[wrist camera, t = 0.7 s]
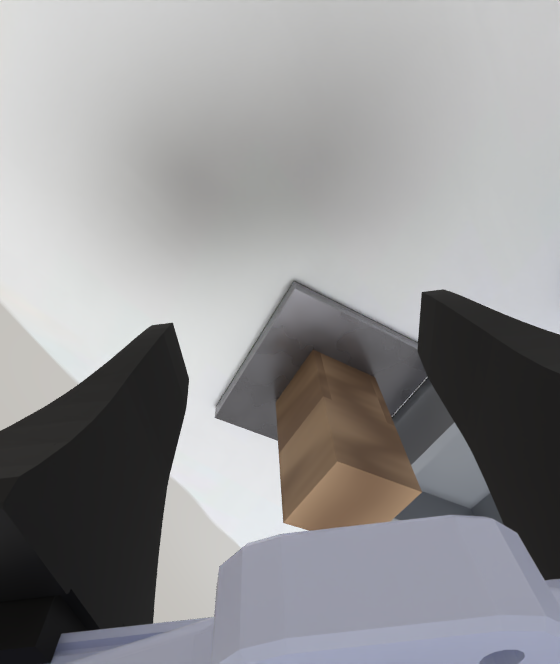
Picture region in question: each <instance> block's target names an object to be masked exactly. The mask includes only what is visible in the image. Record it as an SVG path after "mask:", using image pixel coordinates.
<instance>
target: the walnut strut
mask: <svg viewBox="0 0 560 664" xmlns="http://www.w3.org/2000/svg"><path fill="white" fill-rule="evenodd" d="M276 417H277V432H278V448H279V463H280V479H281V494H282V510H283V523H286V524H289V525H292V526H296V527H299V528H302V529H306V530H309V531H312V530H321V529H330V528H339V527H347V526H356V525H365V524H374V523H383V522H390V521H391V520H393V519H394V518H395V517H396V516H397V515H398V514H399V513H400V512H401V511H402V510H403V509H404V508H405V507H407V506H408V505H409V504H410V503H411V502H412V501H413V500H414V499H415V498H416V497H417V496H418V495H419V494H421V493H422V491H421V488H420V486H419V484H418V481H417V479H416V476H415V474H414V471H413V469H412V466H411V464H410V462H409V459H408V457H407V454H406V452H405V449H404V447H403V444H402V442H401V439H400V437H399V435H398V432H397V430H396V427H395V425H394V422H393V420H392V417H391V415H390V413H389V410H388V408H387V405H386V403H385V400H384V398H383V395H382V393H381V391H380V388H379V386H378V383H377V381H376V378H375V377H373V376H371V375H369V374H367V373H364V372H362V371H360V370H358V369H356V368H353V367H351V366H349V365H347V364H344V363H342V362H340V361H338V360H336V359H333V358H331V357H329V356H327V355H324V354H322V353H320V352H318V351H316V350H312V351H311V353H310V354H309V356H308V357H307V358H306V360H305V361H304V363H303V364H302V366H301V367H300V368H299V370H298V371H297V373H296V374H295V375H294V377H293V378H292V380H291V381H290V383H289V384H288V385H287V387H286V388H285V390H284V391H283V393H282V394H281V395H280V397H279V398H278V400H277V401H276Z"/></svg>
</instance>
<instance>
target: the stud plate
mask: <svg viewBox="0 0 560 664" xmlns="http://www.w3.org/2000/svg"><path fill="white" fill-rule="evenodd" d="M312 350H316V351H318V352H320V353H322V354H324V355H327V356H329V357H331V358H333V359H336V360H338V361H340V362H342V363H344V364H347V365H349V366H351V367H353V368H356V369H358V370H360V371H362V372H364V373H367V374H369V375H371V376H373V377H375V378H376V381H377V383H378V386H379V388H380V391H381V393H382V395H383V398H384V400H385V403H386V405H387V408H388V410H389V413H390V415H391V416H392V415H393V413H394V412H395V411H396V410H397V409H398V408H399V407H400V406H401V405H402V403H403V402H404V401H405V400H406V399H407V398H408V397H409V396H410V395H411V393H412V392H413V391H414V390H415V389H416V388H417V387H418V386H419V385H420V384H421V382H422V381H423V380H424V379H425V378H426V377H427V374H426V372H425V369H424V367H423V364H422V362H421V359H420V357H419V354H418V352H417V351H418V343H417V342H415V341H413V340H411V339H409V338H407V337H405V336H403V335H401V334H399V333H397V332H395V331H393V330H391V329H389V328H387V327H385V326H383V325H381V324H379V323H377V322H375V321H373V320H371V319H369V318H367V317H365V316H363V315H361V314H359V313H357V312H355V311H353V310H351V309H349V308H347V307H345V306H343V305H341V304H339V303H337V302H335V301H333V300H331V299H329V298H327V297H325V296H323V295H321V294H319V293H317V292H315V291H313V290H311V289H309V288H307V287H305V286H303V285H301V284H299V283H297V282H295V281H293V283H292V285H291V286H290V288H289V290H288V291H287V293H286V294H285V296H284V298H283V299H282V301H281V302H280V304H279V306H278V307H277V309H276V311H275V312H274V314H273V315H272V317H271V319H270V320H269V322H268V324H267V325H266V327H265V328H264V330H263V332H262V333H261V335H260V336H259V338H258V340H257V341H256V343H255V345H254V346H253V348H252V349H251V351H250V353H249V354H248V356H247V358H246V359H245V361H244V362H243V364H242V366H241V367H240V369H239V370H238V372H237V374H236V375H235V377H234V379H233V380H232V382H231V383H230V385H229V387H228V388H227V390H226V392H225V393H224V395H223V396H222V398H221V400H220V401H219V403H218V404H217V406H216V411H215V418H217V419H220V420H223V421H225V422H228V423H231V424H234V425H236V426H239V427H242V428H245V429H247V430H250V431H253V432H256V433H258V434H261V435H264V436H267V437H269V438H272V439H275V440H278V432H277V417H276V401H277V400H278V398H279V397H280V395H281V394H282V393H283V391H284V390H285V388H286V387H287V385H288V384H289V383H290V381H291V380H292V378H293V377H294V375H295V374H296V373H297V371H298V370H299V368H300V367H301V366H302V364H303V363H304V361H305V360H306V358H307V357H308V356H309V354H310V353H311V351H312Z"/></svg>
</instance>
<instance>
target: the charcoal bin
mask: <svg viewBox="0 0 560 664" xmlns="http://www.w3.org/2000/svg"><path fill="white" fill-rule="evenodd" d="M392 420H393V422H394V425H395V427H396V430H397V432H398V435H399V437H400V439H401V442H402V444H403V447H404V449H405V452H406V454H407V457H408V459H409V462H410V464H411V466H412V469H413V471H414V474H415V476H416V479H417V481H418V484H419V486H420V488H421V491H422V493H421V494H419V495H418V496H417V497H416V498H415V499H414V500H413V501H412V502H411V503H410V504H409V505H408V506H407V507H405V508H404V509H403V510H402V511H401V512H400V513H399V514H398V515H397V516H396V517H395V518H394V519H393V520H391V521H390V522H392V521H400V520H409V519H418V518H427V517H436V516H444V515H465V516H483V517H488V518H492V519H494V520H496V521H498V522H499V523H501V524H503V522H502V519H501V517H500V514H499V512H498V510H497V507H496V505H495V503H494V500H493V498H492V496H491V493H490V491H489V489H488V486H487V484H486V482H485V480H484V478H483V475H482V473H481V471H480V469H479V467H478V464H477V462H476V460H475V458H474V456H473V454H472V452H471V450H470V448H469V446H468V444H467V442H466V441H465V439H464V437H463V435H462V434H461V432H460V430H459V429H458V427H457V425H456V424H455V422H454V421H453V419H452V417H451V416H450V414H449V412H448V411H447V409H446V407H445V406H444V404H443V402H442V401H441V399H440V397H439V396H438V394H437V392H436V391H435V389H434V387H433V386H432V384H431V382H430V380H429V379H427V380H426V381H425V382H424V383H423V384H422V386H421V387H420V388H419V389H418V390H417V391H416V392H415V393H414V394H413V396H412V397H411V398H410V399H409V400H408V401H407V402H406V403H405V404H404V405H403V407H402V408H401V409H400V410H399V411H398V412H397V413H396V414H395V415H394V417H393V418H392ZM503 525H504V524H503Z"/></svg>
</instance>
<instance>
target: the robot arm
mask: <svg viewBox="0 0 560 664" xmlns="http://www.w3.org/2000/svg"><path fill="white" fill-rule="evenodd" d="M417 352H418V354H419V357H420V359H421V362H422V364H423V367H424V369H425V372H426V374H427V376H428V379H429V380H430V382H431V384H432V386H433V387H434V389H435V391H436V392H437V394H438V396H439V397H440V399H441V401H442V402H443V404H444V406H445V407H446V409H447V411H448V412H449V414H450V416H451V417H452V419H453V421H454V422H455V424H456V425H457V427H458V429H459V430H460V432H461V434H462V435H463V437H464V439H465V441H466V442H467V444H468V446H469V448H470V450H471V452H472V454H473V456H474V458H475V460H476V462H477V464H478V467H479V469H480V471H481V473H482V475H483V478H484V480H485V482H486V484H487V486H488V489H489V491H490V493H491V496H492V498H493V500H494V503H495V505H496V507H497V510H498V512H499V514H500V517H501V519H502V522H503V524H504V525H503V524H501V523H499V522H498V521H496V520H494V519H492V518H488V517H483V516H465V515H444V516H436V517H427V518H418V519H409V520H400V521H392V522H383V523H374V524H365V525H356V526H347V527H339V528H330V529H321V530H312V531H303V532H295V533H286V534H279V535H276V536H272V537H269V538H265V539H261V540H258V541H254V542H251V543H247V544H246V545H245V546H244V547H242V548H241V549H240V550H239V551H238V552H236V553H235V554H234V555H233V556H232V557H230V558H229V559H228V560H227V561H225V562H224V563H223V564H222V565H221V566H219V573H218V582H217V589H216V590H217V591H216V601H215V602H216V603H215V615H214V617H208V618H199V619H190V620H181V621H172V622H163V623H154V624H153V615H154V600H155V588H156V578H157V566H158V556H159V546H160V538H161V529H162V520H163V513H164V505H165V498H166V491H167V485H168V480H169V475H170V471H171V467H172V463H173V459H174V455H175V451H176V447H177V443H178V439H179V435H180V431H181V427H182V423H183V419H184V415H185V411H186V405H187V396H188V385H189V377H188V374H187V370H186V367H185V363H184V360H183V357H182V353H181V350H180V346H179V343H178V339H177V336H176V332H175V329H174V325H173V323H167V324H159V325H152V326H150V327H149V328H147V329H146V330H145V331H144V332H142V333H141V334H140V335H139V336H137V337H136V338H135V339H134V340H133V341H132V342H131V343H129V344H128V345H127V346H126V347H125V348H124V349H122V350H121V351H120V352H119V353H118V354H117V355H115V356H114V357H113V358H112V359H111V360H109V361H108V362H107V363H106V364H104V365H103V366H102V367H101V368H99V369H98V370H97V371H95V372H94V373H93V374H92V375H90V376H89V377H88V378H87V379H85V380H84V381H83V382H81V383H80V384H79V385H77V386H76V387H74V388H73V389H71V390H70V391H69V392H67V393H66V394H64V395H63V396H61V397H59V398H58V399H56V400H55V401H53V402H52V403H50V404H48V405H47V406H45V407H44V408H42V409H40V410H38V411H37V412H34V413H33V414H31V415H29V416H27V417H25V418H24V419H22V420H20V421H18V422H16V423H15V424H13V425H11V426H9V427H7V428H5V429H3V430H1V431H0V664H560V335H559V334H556V333H553V332H550V331H547V330H544V329H541V328H538V327H535V326H533V325H530V324H527V323H525V322H522V321H519V320H517V319H514V318H512V317H509V316H507V315H504V314H502V313H500V312H497V311H495V310H493V309H490V308H488V307H486V306H483V305H481V304H479V303H476V302H474V301H472V300H470V299H467V298H465V297H463V296H460V295H458V294H455V293H453V292H450V291H447V290H436V291H427V292H422V298H421V311H420V324H419V337H418V351H417Z"/></svg>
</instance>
